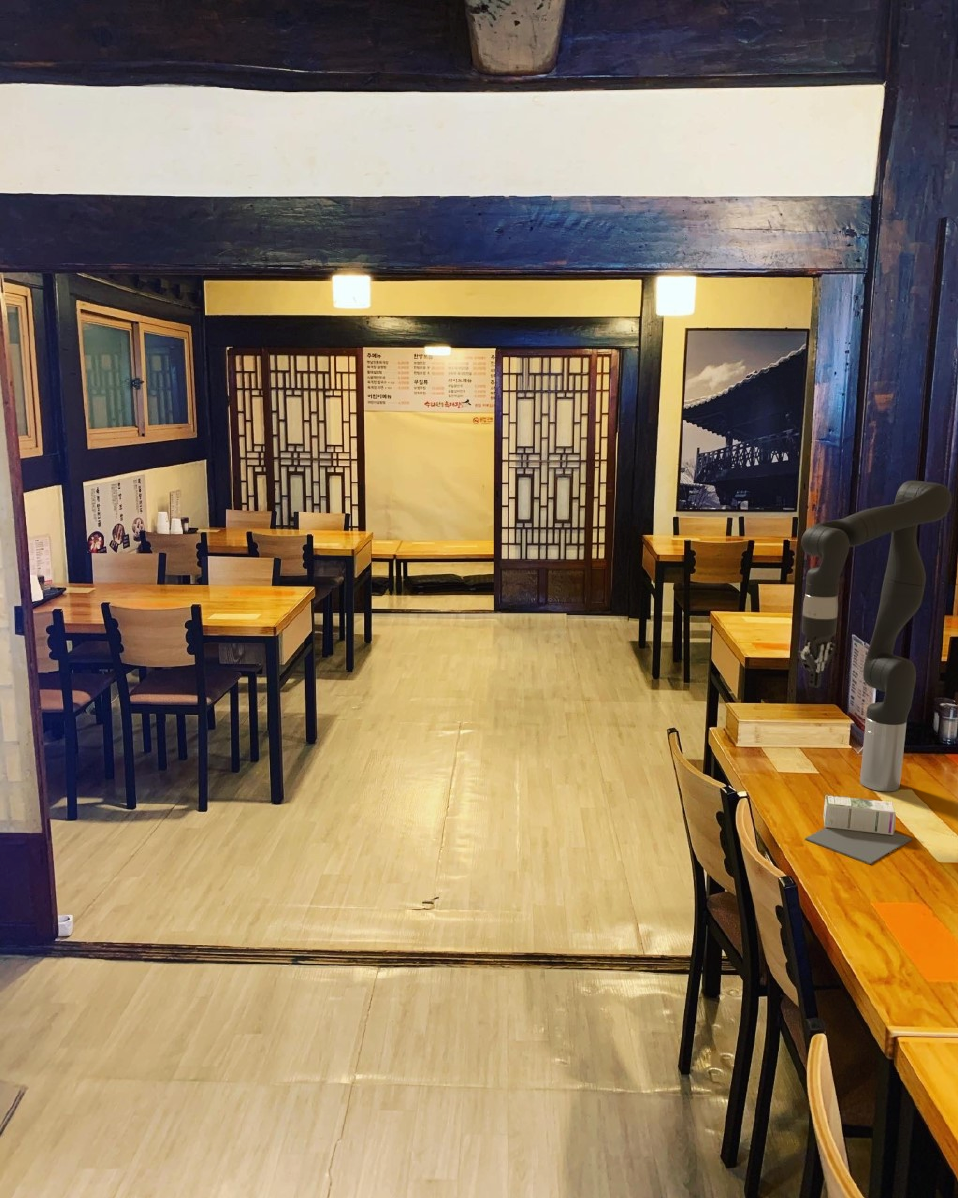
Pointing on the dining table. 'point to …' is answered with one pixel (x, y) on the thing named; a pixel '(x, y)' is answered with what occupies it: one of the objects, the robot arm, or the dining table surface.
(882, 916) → the dining table surface
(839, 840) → the mat
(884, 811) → the syrup box
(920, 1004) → the dining table surface
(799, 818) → the dining table surface
